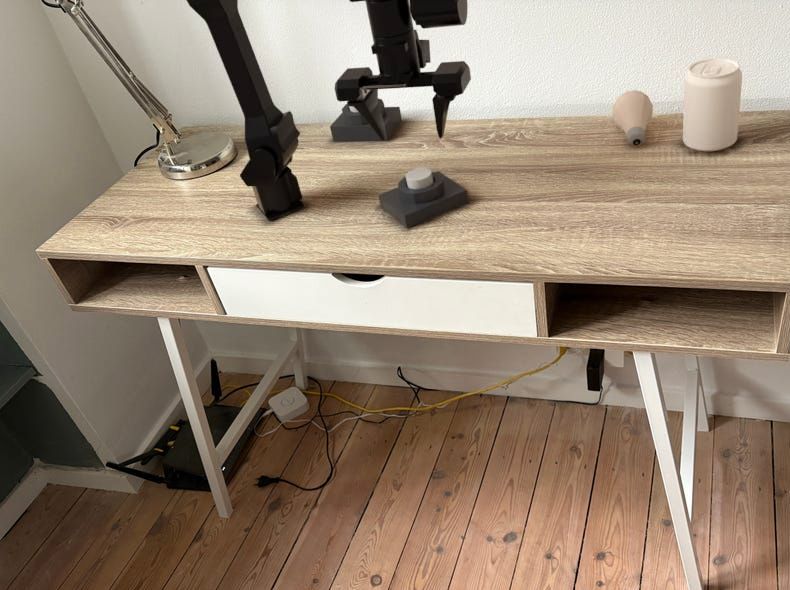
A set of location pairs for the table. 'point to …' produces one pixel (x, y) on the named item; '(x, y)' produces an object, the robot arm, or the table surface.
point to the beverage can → (712, 104)
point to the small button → (419, 178)
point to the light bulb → (633, 115)
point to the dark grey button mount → (364, 124)
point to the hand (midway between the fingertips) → (412, 138)
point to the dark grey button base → (423, 200)
